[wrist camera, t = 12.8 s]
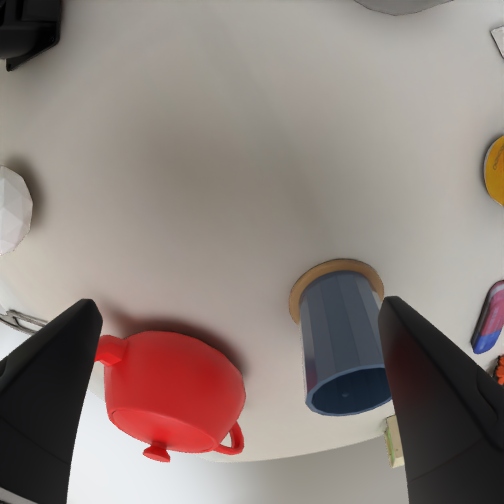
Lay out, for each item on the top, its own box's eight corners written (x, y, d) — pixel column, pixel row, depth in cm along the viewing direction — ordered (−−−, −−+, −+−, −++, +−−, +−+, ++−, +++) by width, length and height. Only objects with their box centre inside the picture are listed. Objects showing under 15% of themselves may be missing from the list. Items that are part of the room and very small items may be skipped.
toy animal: (482, 378, 29) (459, 413, 34) (507, 388, 25) (480, 422, 30) (494, 343, 32) (473, 381, 38) (517, 352, 28) (493, 389, 34)
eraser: (489, 284, 22) (496, 294, 21) (512, 276, 22) (519, 285, 20) (467, 348, 28) (471, 358, 26) (488, 340, 27) (493, 349, 25)
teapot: (293, 388, 32) (295, 479, 22) (204, 414, 37) (193, 485, 27) (127, 246, 22) (52, 362, 12) (62, 313, 28) (15, 393, 17)
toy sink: (391, 461, 31) (389, 471, 37) (434, 446, 29) (423, 460, 36) (383, 418, 38) (383, 437, 44) (423, 404, 36) (416, 426, 43)
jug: (299, 271, 22) (311, 370, 14) (382, 268, 21) (422, 357, 14) (294, 347, 27) (299, 431, 19) (361, 343, 26) (379, 422, 18)
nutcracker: (56, 341, 31) (42, 315, 28) (54, 345, 30) (39, 319, 27) (-4, 318, 31) (-16, 295, 29) (-6, 321, 31) (-19, 298, 28)
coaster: (287, 333, 26) (287, 338, 26) (289, 260, 22) (290, 264, 21) (371, 328, 26) (372, 333, 25) (391, 257, 21) (393, 261, 21)
